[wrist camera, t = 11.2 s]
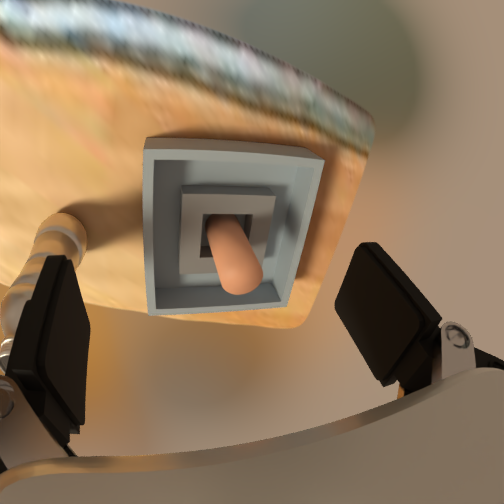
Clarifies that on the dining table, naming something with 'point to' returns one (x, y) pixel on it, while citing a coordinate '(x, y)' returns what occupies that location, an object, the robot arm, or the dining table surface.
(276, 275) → the grey socket tray
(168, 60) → the dining table surface
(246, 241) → the peg
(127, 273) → the dining table surface
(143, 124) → the dining table surface
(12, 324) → the plastic bottle
